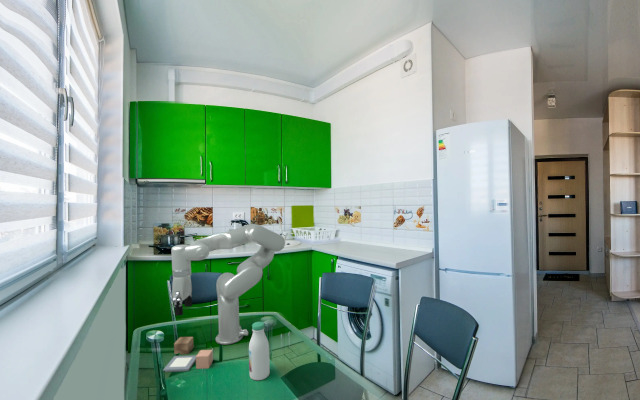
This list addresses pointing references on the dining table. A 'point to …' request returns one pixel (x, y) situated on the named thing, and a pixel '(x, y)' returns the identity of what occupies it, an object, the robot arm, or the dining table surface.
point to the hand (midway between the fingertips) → (183, 310)
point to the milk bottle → (258, 353)
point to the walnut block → (183, 345)
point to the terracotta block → (204, 359)
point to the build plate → (180, 363)
